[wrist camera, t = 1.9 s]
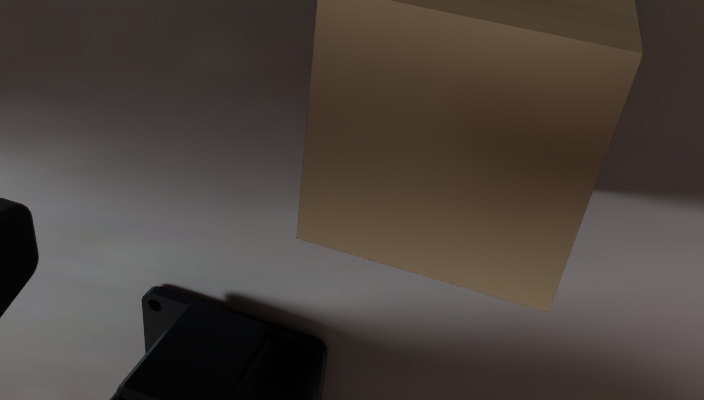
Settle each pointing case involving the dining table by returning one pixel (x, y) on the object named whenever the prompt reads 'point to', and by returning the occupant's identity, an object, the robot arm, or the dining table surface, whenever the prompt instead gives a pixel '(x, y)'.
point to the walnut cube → (463, 133)
